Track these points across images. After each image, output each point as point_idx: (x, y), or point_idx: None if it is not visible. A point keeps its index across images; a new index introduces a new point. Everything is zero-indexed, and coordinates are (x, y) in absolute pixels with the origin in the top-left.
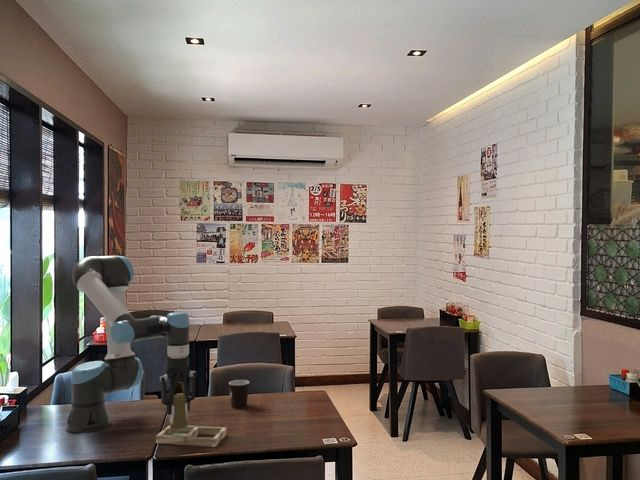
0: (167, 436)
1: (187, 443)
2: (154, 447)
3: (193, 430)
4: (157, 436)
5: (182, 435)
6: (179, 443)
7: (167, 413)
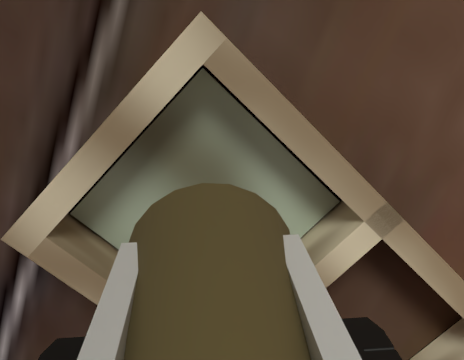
0: (91, 298)
1: None
2: (5, 280)
3: None
4: (16, 245)
5: None
6: None
7: (51, 352)
